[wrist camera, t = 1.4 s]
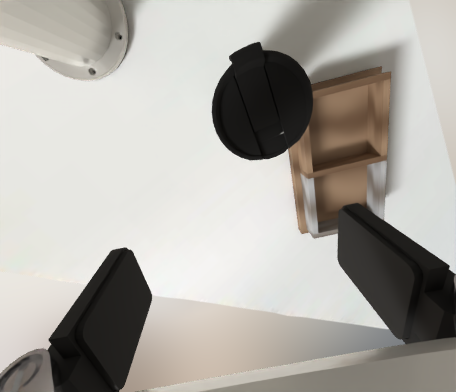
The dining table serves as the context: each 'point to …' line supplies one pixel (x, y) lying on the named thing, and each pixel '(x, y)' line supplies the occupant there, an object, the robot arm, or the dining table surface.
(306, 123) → the travel mug
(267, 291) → the dining table surface
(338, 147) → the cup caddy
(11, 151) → the dining table surface
